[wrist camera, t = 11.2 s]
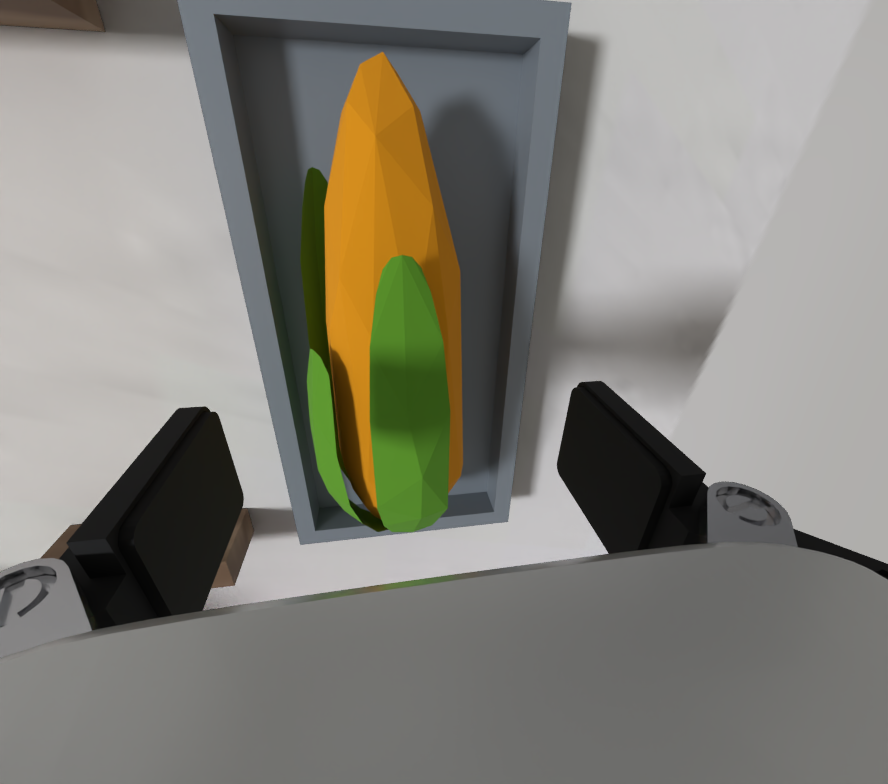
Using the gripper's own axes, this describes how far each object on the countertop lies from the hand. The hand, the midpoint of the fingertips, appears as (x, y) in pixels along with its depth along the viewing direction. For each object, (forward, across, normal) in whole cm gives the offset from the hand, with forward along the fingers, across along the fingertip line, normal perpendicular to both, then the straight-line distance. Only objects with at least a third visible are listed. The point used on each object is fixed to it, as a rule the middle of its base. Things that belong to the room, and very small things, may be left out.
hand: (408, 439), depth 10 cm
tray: (+11, 0, +1) cm, 11 cm away
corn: (+11, 0, 0) cm, 11 cm away
